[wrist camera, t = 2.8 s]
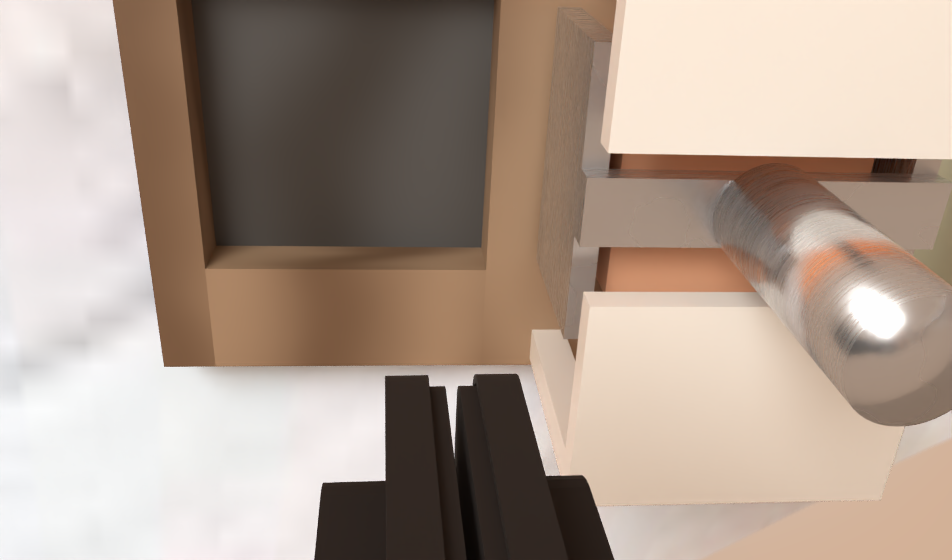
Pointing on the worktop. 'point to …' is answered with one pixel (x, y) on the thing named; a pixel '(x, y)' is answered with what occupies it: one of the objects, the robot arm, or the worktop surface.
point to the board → (350, 177)
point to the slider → (760, 240)
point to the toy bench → (739, 313)
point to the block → (694, 265)
